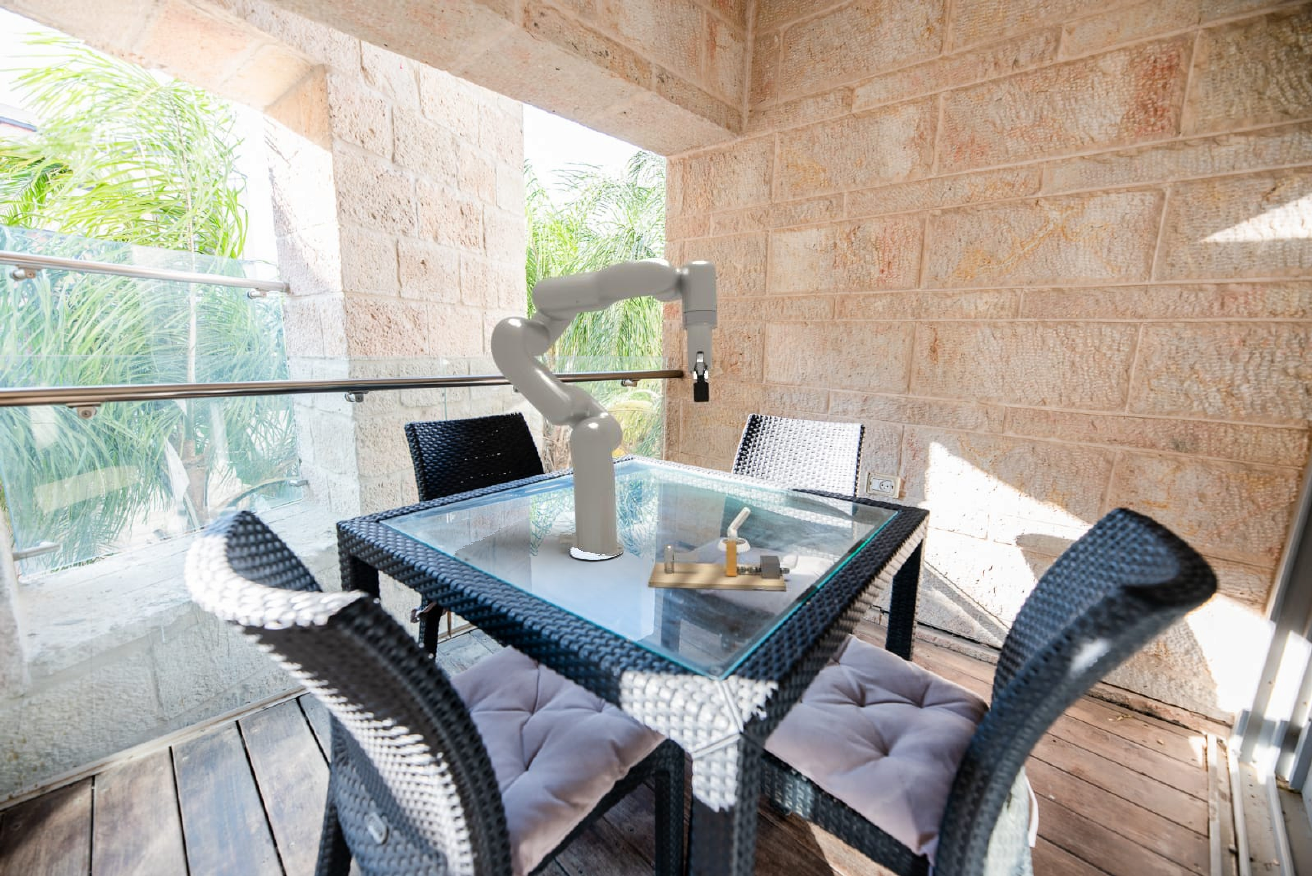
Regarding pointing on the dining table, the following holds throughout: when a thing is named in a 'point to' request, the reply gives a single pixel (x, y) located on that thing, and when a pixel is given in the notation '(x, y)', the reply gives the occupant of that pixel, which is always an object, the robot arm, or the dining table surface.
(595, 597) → the dining table surface
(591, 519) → the robot arm
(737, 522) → the white ringed handle device
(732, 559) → the block with bead chain
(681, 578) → the board
